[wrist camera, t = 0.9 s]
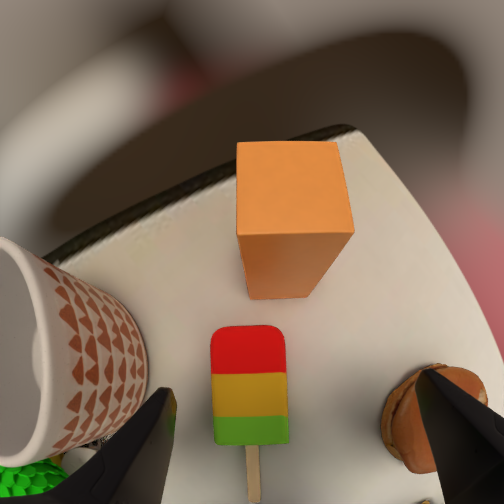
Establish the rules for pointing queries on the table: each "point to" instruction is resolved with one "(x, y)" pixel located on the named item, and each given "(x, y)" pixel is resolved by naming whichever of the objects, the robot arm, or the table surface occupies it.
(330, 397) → the table surface
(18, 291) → the vase
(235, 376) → the popsicle
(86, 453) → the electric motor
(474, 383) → the burger
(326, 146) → the juice carton
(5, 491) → the ornament
